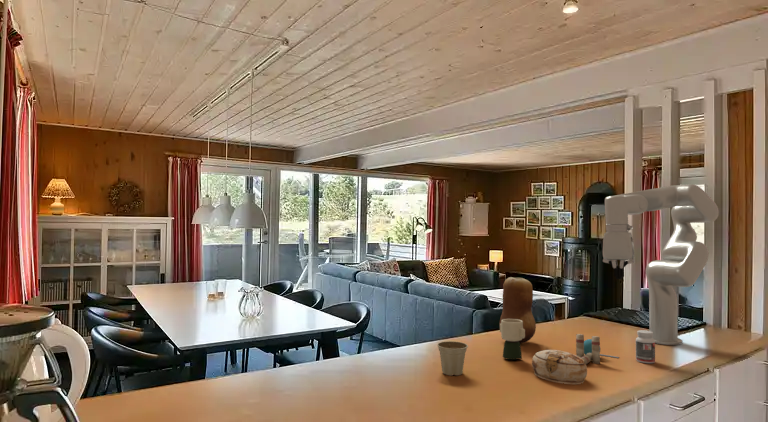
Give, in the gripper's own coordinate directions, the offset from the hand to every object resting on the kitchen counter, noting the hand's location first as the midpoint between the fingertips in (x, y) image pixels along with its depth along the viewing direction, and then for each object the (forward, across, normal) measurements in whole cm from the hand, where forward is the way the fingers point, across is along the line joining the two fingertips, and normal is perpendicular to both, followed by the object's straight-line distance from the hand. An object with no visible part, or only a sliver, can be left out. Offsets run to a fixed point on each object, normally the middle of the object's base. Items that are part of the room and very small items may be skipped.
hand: (619, 278), depth 180 cm
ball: (+22, +6, +19) cm, 30 cm away
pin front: (+23, +5, +24) cm, 34 cm away
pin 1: (+24, +7, +26) cm, 36 cm away
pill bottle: (+26, -10, +14) cm, 31 cm away
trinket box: (+24, +7, +49) cm, 55 cm away
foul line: (+25, +5, +15) cm, 29 cm away
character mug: (+24, +26, +39) cm, 52 cm away
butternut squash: (+24, +34, +16) cm, 45 cm away
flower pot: (+22, +34, +65) cm, 76 cm away
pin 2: (+24, +2, +26) cm, 36 cm away
